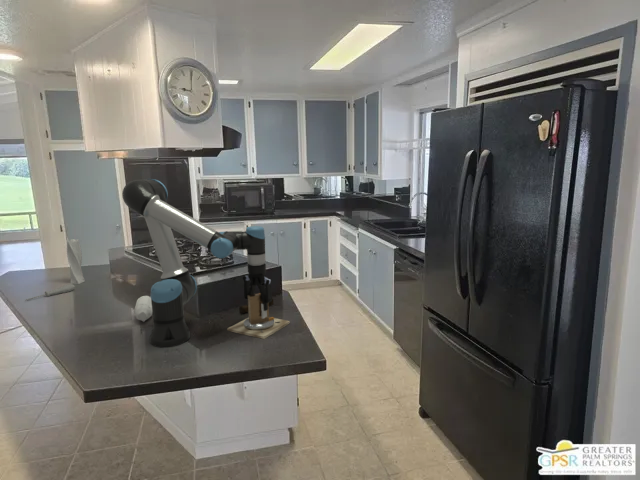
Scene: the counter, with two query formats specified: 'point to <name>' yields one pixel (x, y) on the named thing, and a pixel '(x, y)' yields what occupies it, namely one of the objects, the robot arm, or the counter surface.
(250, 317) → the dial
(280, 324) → the dial plate
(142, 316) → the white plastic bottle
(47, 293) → the screwdriver
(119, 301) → the counter surface
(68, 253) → the skyscraper
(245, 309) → the hand tool
